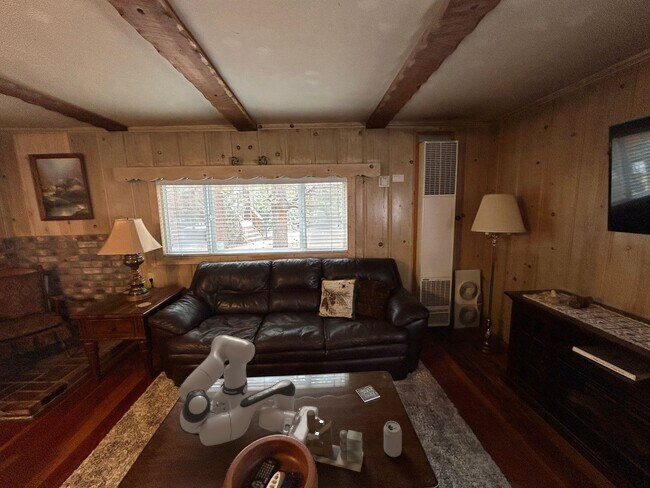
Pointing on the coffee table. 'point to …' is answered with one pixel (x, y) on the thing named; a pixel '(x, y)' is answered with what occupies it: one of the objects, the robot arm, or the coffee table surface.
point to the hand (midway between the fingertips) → (321, 429)
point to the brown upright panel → (325, 435)
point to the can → (392, 438)
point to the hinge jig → (345, 452)
